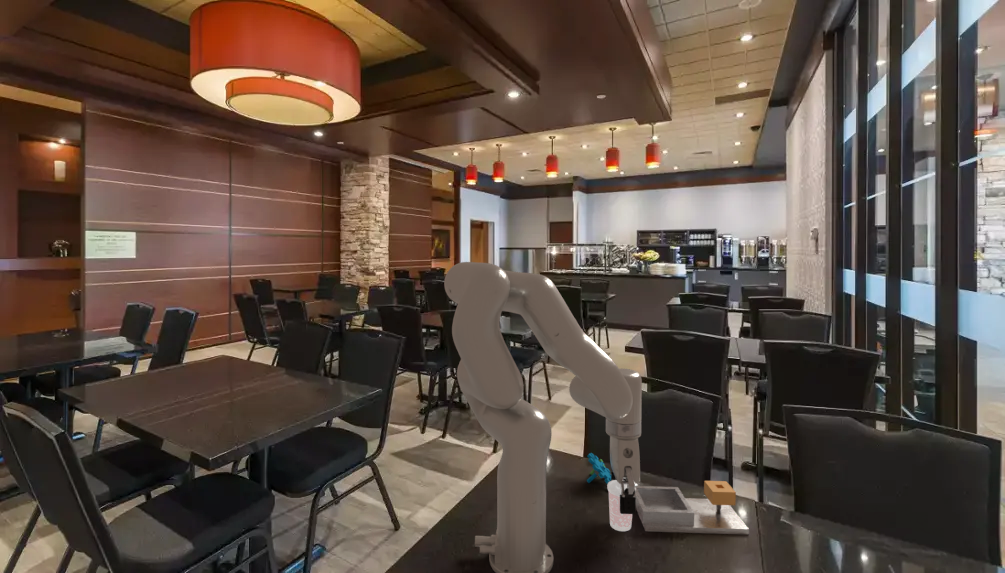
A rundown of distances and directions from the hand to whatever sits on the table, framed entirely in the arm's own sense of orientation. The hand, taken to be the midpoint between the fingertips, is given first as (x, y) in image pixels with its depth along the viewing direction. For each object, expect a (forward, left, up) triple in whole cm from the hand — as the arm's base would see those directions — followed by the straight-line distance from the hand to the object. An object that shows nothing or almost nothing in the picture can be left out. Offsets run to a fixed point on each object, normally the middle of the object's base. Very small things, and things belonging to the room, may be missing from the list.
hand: (622, 500), depth 103 cm
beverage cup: (0, 0, -6) cm, 6 cm away
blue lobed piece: (-2, +19, -6) cm, 20 cm away
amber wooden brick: (+23, +4, -1) cm, 23 cm away
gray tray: (+16, +4, -6) cm, 17 cm away
